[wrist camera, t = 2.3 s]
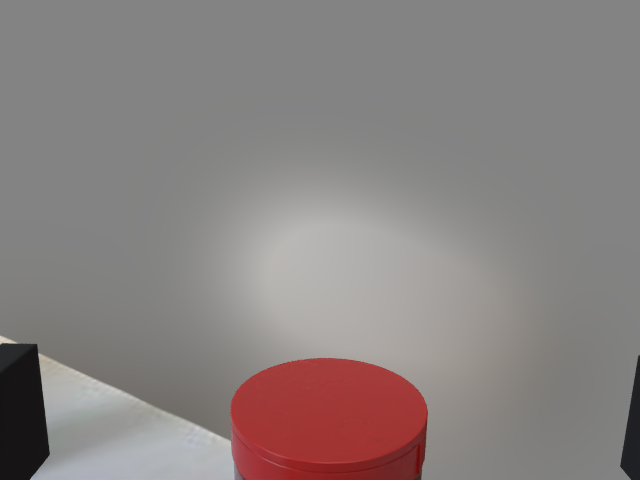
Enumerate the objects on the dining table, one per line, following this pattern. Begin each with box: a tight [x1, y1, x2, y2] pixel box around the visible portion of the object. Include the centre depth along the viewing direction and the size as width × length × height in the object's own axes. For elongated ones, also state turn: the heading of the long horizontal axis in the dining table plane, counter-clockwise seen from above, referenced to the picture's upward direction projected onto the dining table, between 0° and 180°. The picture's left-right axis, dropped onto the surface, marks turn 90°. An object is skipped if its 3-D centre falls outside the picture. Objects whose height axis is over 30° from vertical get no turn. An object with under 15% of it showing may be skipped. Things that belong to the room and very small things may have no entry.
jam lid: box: [230, 358, 428, 480], centre depth 23 cm, size 8×8×2 cm
